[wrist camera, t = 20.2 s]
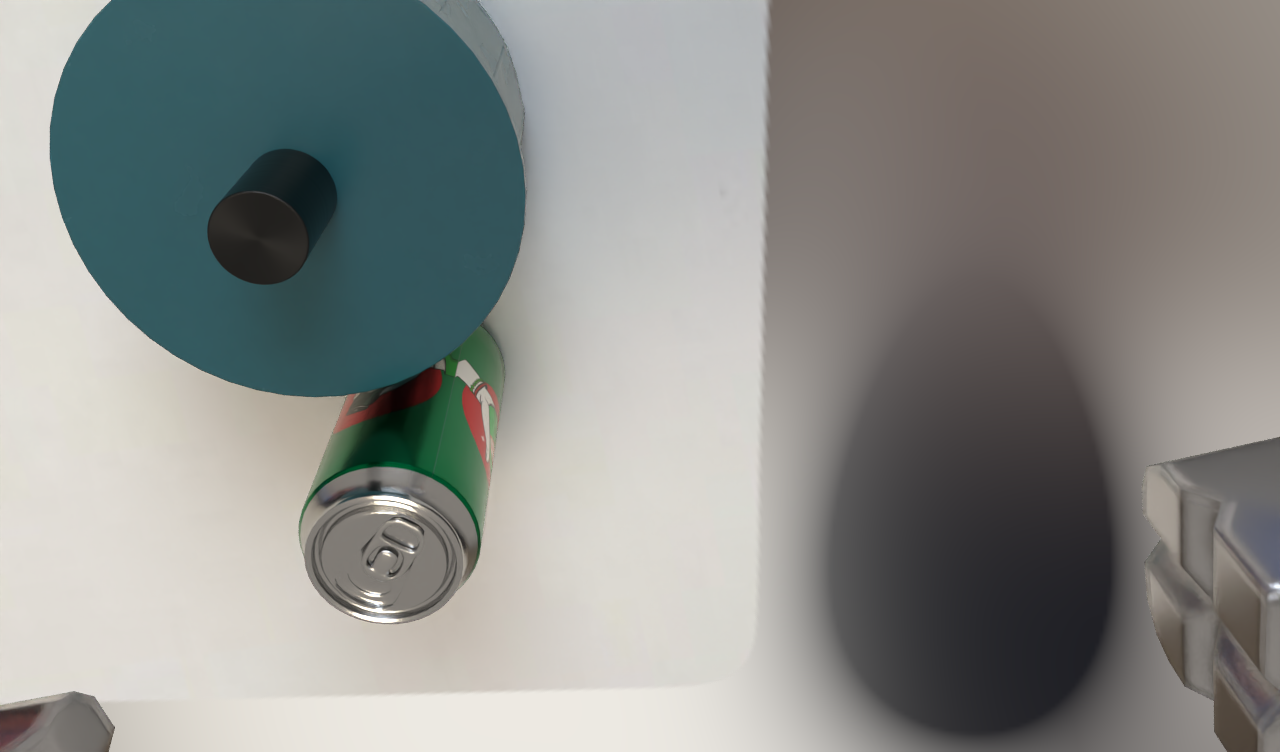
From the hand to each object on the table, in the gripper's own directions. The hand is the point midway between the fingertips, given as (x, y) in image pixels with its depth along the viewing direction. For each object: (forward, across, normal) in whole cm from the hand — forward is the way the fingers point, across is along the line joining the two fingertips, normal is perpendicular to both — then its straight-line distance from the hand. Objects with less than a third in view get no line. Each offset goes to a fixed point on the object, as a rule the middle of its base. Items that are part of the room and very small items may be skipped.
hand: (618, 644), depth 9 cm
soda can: (+31, +9, +11) cm, 34 cm away
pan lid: (+24, +9, +2) cm, 25 cm away
